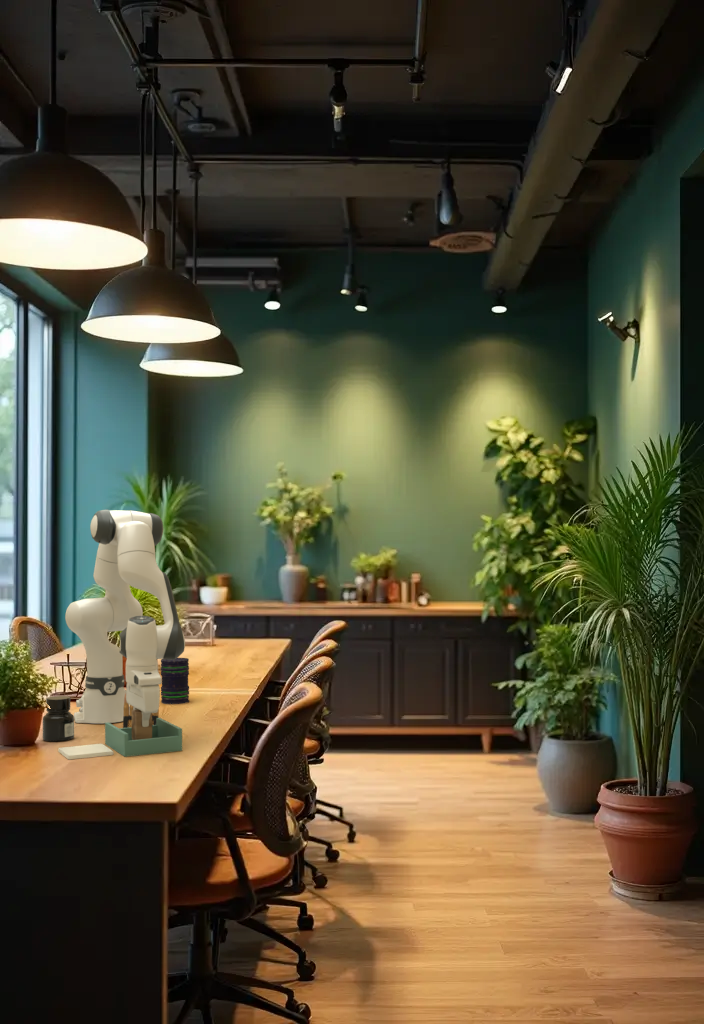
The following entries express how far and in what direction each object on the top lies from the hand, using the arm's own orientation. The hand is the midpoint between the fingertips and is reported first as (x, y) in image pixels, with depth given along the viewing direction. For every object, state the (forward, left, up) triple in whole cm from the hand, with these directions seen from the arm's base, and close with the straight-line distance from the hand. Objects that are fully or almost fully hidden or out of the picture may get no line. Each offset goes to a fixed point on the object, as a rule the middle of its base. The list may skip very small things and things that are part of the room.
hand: (141, 724), depth 304 cm
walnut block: (0, 0, -4) cm, 4 cm away
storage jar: (-72, +33, -7) cm, 79 cm away
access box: (0, 0, -6) cm, 6 cm away
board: (0, -16, -6) cm, 17 cm away
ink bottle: (-24, -18, -7) cm, 30 cm away
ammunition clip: (-22, +6, -7) cm, 23 cm away
